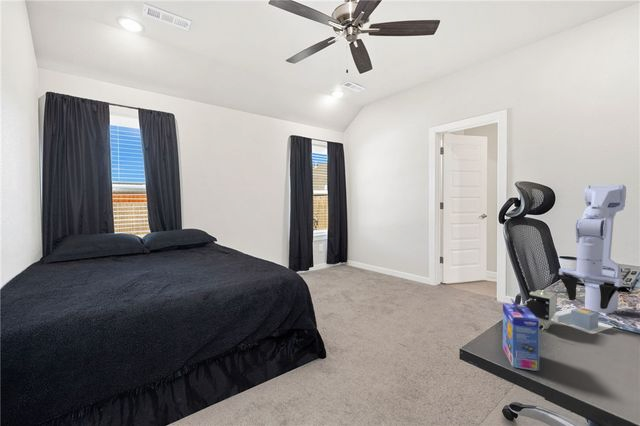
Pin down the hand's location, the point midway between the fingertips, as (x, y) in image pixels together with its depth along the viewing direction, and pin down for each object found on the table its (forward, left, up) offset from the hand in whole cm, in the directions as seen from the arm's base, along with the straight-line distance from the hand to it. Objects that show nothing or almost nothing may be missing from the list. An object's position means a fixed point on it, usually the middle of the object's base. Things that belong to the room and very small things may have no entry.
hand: (587, 303), depth 87 cm
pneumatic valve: (+12, -6, -8) cm, 16 cm away
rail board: (-2, -2, -8) cm, 8 cm away
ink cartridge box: (+35, +2, -8) cm, 36 cm away
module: (0, -1, -7) cm, 7 cm away
